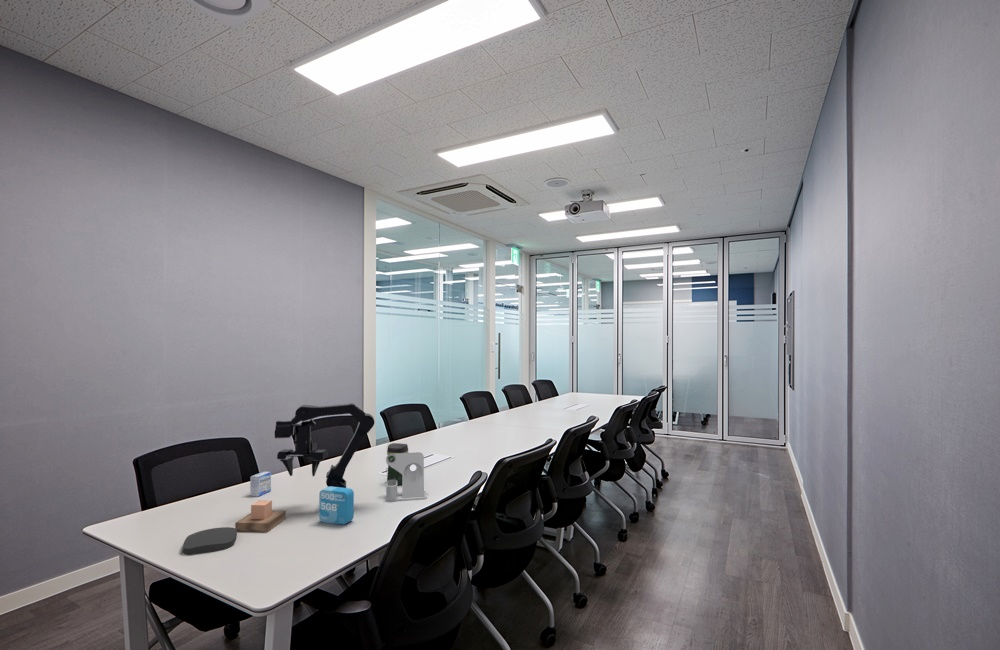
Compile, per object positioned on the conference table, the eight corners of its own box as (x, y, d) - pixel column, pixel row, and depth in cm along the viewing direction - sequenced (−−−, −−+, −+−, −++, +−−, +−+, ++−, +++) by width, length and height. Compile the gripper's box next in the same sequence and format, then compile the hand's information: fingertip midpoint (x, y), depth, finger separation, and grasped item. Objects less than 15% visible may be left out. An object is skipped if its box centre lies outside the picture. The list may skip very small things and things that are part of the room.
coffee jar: (410, 481, 225) (410, 442, 226) (403, 486, 217) (403, 445, 218) (392, 479, 227) (392, 441, 228) (384, 484, 220) (384, 444, 220)
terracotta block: (271, 514, 174) (272, 500, 174) (264, 519, 169) (264, 505, 169) (258, 513, 174) (258, 500, 174) (250, 519, 169) (251, 505, 169)
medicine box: (258, 497, 202) (259, 476, 202) (249, 496, 203) (250, 476, 203) (271, 491, 210) (271, 471, 210) (262, 490, 211) (262, 471, 211)
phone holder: (385, 502, 196) (385, 458, 197) (385, 494, 206) (386, 453, 207) (427, 499, 200) (427, 456, 200) (425, 491, 210) (426, 451, 210)
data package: (318, 521, 175) (319, 489, 175) (326, 517, 179) (326, 485, 179) (346, 525, 171) (347, 492, 172) (353, 520, 176) (354, 488, 176)
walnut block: (285, 519, 177) (285, 511, 177) (268, 531, 165) (268, 523, 165) (254, 518, 178) (254, 510, 178) (235, 531, 166) (235, 522, 166)
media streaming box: (179, 557, 146) (180, 548, 146) (189, 539, 160) (189, 530, 160) (233, 549, 152) (233, 540, 152) (238, 532, 166) (238, 524, 166)
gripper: (333, 433, 197) (333, 470, 196) (290, 432, 198) (289, 470, 197) (322, 438, 185) (321, 478, 185) (276, 438, 186) (275, 477, 186)
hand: (302, 476), depth 188 cm, fingers open, 9 cm apart
